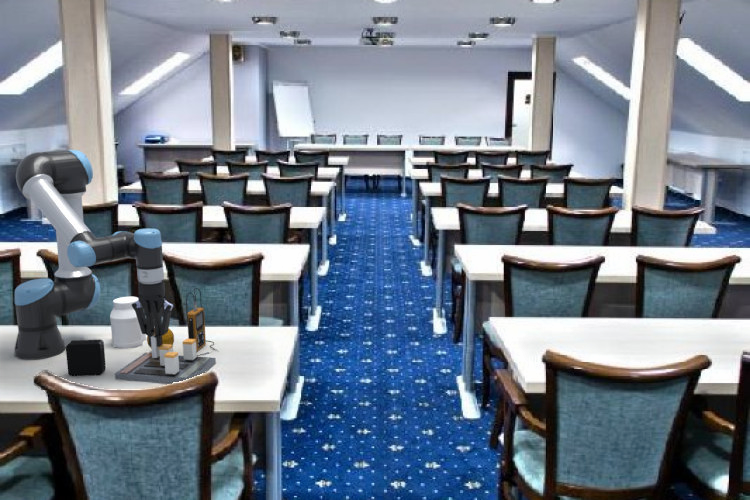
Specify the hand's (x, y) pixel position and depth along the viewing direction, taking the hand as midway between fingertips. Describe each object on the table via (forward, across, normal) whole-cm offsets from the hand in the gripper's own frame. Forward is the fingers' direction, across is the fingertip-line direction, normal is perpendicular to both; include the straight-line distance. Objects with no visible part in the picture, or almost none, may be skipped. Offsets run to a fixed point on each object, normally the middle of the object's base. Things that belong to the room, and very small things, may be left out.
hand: (156, 356), depth 231 cm
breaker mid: (+2, +3, 0) cm, 4 cm away
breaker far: (+2, +8, +6) cm, 10 cm away
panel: (+5, +3, 0) cm, 6 cm away
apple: (+5, -6, +14) cm, 16 cm away
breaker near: (+2, +8, -6) cm, 10 cm away
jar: (+5, -22, +22) cm, 32 cm away
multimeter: (+5, +7, +21) cm, 23 cm away
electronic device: (+5, -20, -6) cm, 21 cm away
